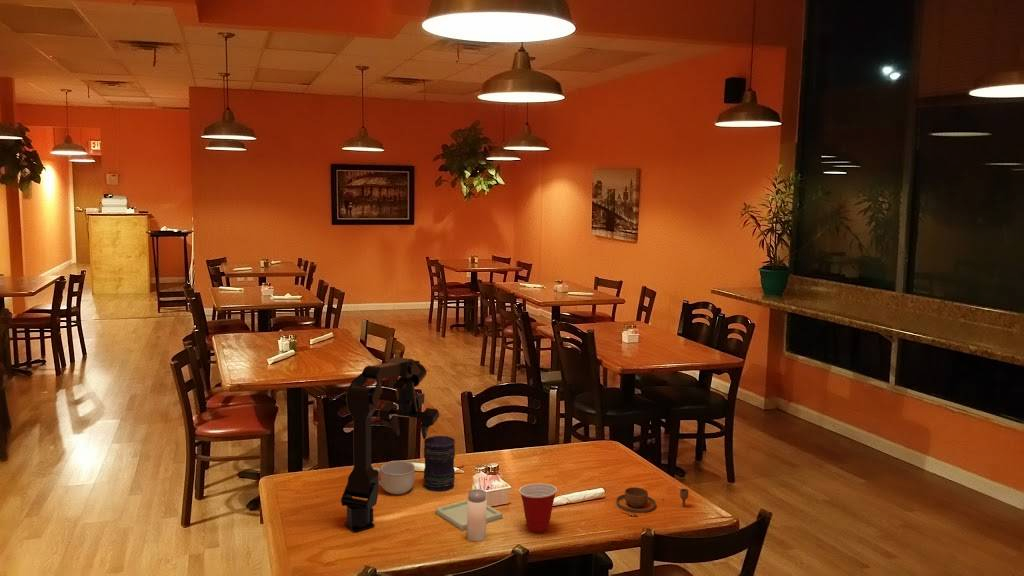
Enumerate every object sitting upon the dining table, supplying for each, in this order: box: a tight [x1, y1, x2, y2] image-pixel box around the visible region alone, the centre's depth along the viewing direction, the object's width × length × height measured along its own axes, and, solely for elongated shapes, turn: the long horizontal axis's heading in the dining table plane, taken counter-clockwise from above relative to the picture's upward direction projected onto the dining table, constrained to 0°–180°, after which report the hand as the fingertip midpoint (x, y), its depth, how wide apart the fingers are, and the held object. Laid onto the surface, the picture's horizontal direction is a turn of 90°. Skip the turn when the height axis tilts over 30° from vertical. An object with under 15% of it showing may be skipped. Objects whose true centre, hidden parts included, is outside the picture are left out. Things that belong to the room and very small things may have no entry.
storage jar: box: [423, 435, 456, 493], centre depth 247 cm, size 10×10×15 cm
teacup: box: [372, 460, 416, 495], centre depth 243 cm, size 14×11×8 cm
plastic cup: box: [518, 482, 558, 534], centre depth 218 cm, size 11×11×12 cm
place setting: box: [615, 486, 689, 518], centre depth 235 cm, size 18×20×6 cm
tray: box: [435, 499, 503, 532], centre depth 226 cm, size 14×14×2 cm
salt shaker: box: [466, 488, 488, 542], centre depth 212 cm, size 5×5×13 cm
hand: (411, 436), depth 248 cm, fingers open, 9 cm apart
